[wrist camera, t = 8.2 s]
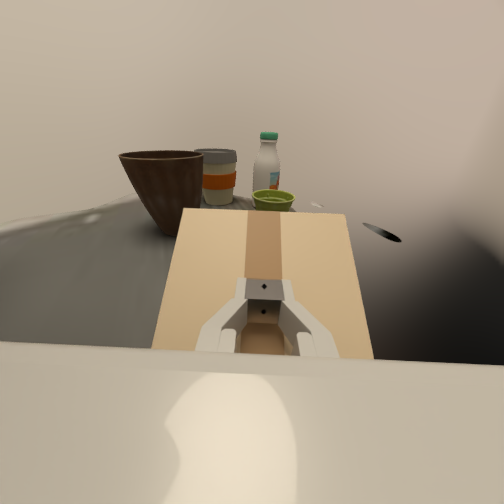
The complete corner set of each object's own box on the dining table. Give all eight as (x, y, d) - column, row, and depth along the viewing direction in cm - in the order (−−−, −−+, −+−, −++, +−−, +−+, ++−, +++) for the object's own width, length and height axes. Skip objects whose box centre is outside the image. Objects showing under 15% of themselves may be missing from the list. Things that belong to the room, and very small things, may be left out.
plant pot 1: (137, 249, 37) (105, 158, 28) (149, 219, 49) (128, 149, 40) (214, 240, 41) (207, 158, 32) (207, 214, 52) (200, 150, 44)
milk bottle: (259, 211, 56) (263, 132, 45) (248, 203, 61) (249, 131, 50) (280, 208, 59) (290, 133, 48) (268, 201, 64) (274, 132, 53)
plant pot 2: (282, 221, 50) (286, 188, 45) (295, 239, 42) (302, 201, 37) (247, 223, 48) (248, 189, 44) (255, 241, 41) (256, 202, 36)
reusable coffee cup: (199, 196, 67) (193, 148, 58) (234, 194, 69) (233, 148, 61) (199, 208, 56) (192, 152, 48) (240, 206, 59) (240, 152, 51)
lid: (375, 414, 10) (386, 421, 9) (145, 405, 10) (136, 410, 9) (339, 220, 15) (344, 214, 14) (187, 214, 15) (183, 207, 14)
